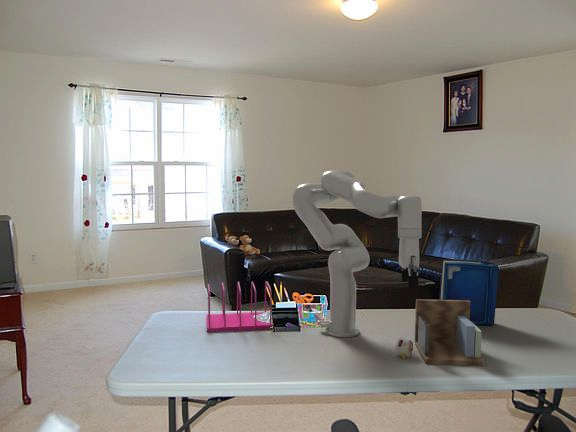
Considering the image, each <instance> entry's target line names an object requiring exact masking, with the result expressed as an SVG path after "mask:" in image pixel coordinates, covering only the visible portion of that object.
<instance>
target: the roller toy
mask: <svg viewBox="0 0 576 432" xmlns="http://www.w3.org/2000/svg"><path fill="white" fill-rule="evenodd" d="M413 350H414V342H413V341H412V339H409V338H404V337H400V338H398V339H397V342H396V345H395V352H396V355H397V356H399V357H401V359H403V360H405V359H406V358H410V357H411V355H412V353H413Z"/></svg>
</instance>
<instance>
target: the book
mask: <svg viewBox="0 0 576 432" xmlns="http://www.w3.org/2000/svg"><path fill="white" fill-rule="evenodd" d="M440 270H441V271H440V280H439V281H440V285H439V296H438V300H469V301H470V320H469V321H472V322H473V323H474V324H475V325H476V326H477V327H478V326H483V325H485V326H493V325H495V321H496V308H497V306H496V305H497V293H498V280H499V271H500V266H499V265H498V264H496V263H493V262H484V261H481V260H479V261H478V260H471V259H470V260H469V259H441V268H440Z"/></svg>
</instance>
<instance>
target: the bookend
mask: <svg viewBox="0 0 576 432" xmlns="http://www.w3.org/2000/svg"><path fill="white" fill-rule="evenodd" d="M429 328H430V325H429V324H428V322H427V321H426V320H425V318H424V317H423V315H419V322H418V345H419V347H420V348H421V350H422V352H423V354H424V355H425V356H428V355H429Z"/></svg>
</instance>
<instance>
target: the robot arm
mask: <svg viewBox="0 0 576 432" xmlns="http://www.w3.org/2000/svg"><path fill="white" fill-rule="evenodd" d="M339 198H340V199H341V200H344V201H347V202H349V203H351V205H352V206H353V207H354V208H355V210H357V211H359V212H361V213H363V214H366V215H368V216H370V217H372V218H375V219H385V218H394V217H397V238H398V239H399V243H398V244H399V247H398V249H399V250H398V265H399V266H400V267H401V282H402V283H406V282H407V288H408V289H418V288H419V267H420V241H419V239H421V238H422V221H423V220H422V213H423V212H422V205H423V204H422V198H421V197H420V196H419V195H400V194H399V195H398V194H382V195H381V194H376V193H373V192H371V191H369V190H366V185H365V182H363V181H362V180H360V179H357V178H355V176H354V174H353V173H352V172H350V171H349V170H344V169H343V170H337V169H334V170H333V169H331V170H328V171H324V173H323V174H322V175H321V176H320V180H319V182H311V183H310V182H308V183H307V182H306V183H303V184H300V185H298V186H297V187H296V188H295V189H294V191H293V194H292V206H293V209H294V211H295V213H296V214H297V216H298V218H300V220H301V221H302V223H304V225H305V226H306V227H307V229H308V231H309V233H310V234H311V236H313V238H314V240H315V242H316V243H317V245H318V246H319V247H320V248H321V250H324V251H332V252H331V253H330V255H329V256H328V259H327V265H328V271H329V281H330V285H329V287H330V288H329V289H330V293H329V295H330V296H329V299H330V300H329V301H330V303H329V318H328V319H326V320H322V319H320V320H319V319H318V320H317V326H320V327H321V328H325V333H327V334H328V335H329V336H332V337H337V338H351V337H352V338H353V337H356V336H358V335H359V334H360V328H359V327H357V326H356V321H357V320H356V319H357V318H356V316H357V315H356V314H357V310H356V309H357V282H356V278H355V277H354V273H355V272H359V271H363V270H365V269H366V268H367V267H368V266H369V264H370V259H371V258H370V254H369V251H368V249H367V248H366V246H365V245H364V244H363V242H362V241H361V239H360V238H359V237H358V236H357V234H356V233H355V231H354V230H353V229H352V228H351V227H350V226H349V225H347V224H343V223H337V224H336V223H335V224H333V223H332V222H331V221H330V219H328V217H327V215H326V214H325V213H324V212H323V211H322V210H321V209H320V208H319V207H317V205H328V204H330V203H332V202H334V201H336V200H338V199H339Z"/></svg>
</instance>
